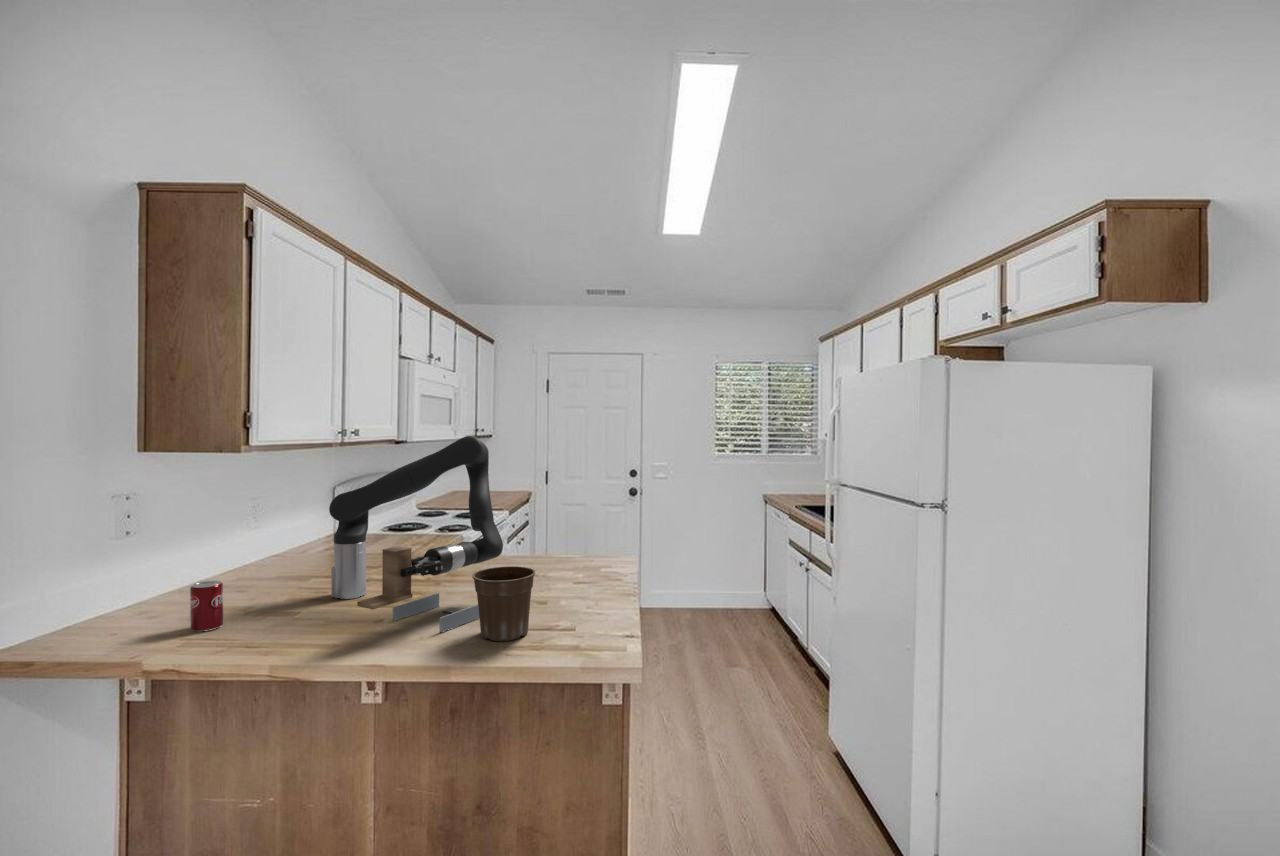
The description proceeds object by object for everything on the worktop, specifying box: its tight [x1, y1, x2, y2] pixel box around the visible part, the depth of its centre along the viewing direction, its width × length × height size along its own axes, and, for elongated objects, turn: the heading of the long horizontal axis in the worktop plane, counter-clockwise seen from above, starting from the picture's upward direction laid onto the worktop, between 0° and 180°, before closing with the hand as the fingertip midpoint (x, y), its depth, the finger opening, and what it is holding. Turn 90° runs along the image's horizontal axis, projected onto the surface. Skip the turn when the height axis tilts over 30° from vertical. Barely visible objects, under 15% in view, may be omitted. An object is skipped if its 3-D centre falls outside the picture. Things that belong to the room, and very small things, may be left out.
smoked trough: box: [392, 592, 479, 633], centre depth 174 cm, size 16×19×4 cm
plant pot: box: [471, 565, 536, 642], centre depth 162 cm, size 16×16×16 cm
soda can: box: [189, 580, 224, 632], centre depth 166 cm, size 7×7×12 cm
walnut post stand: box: [356, 545, 413, 610], centre depth 158 cm, size 12×6×13 cm, turn 151°
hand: (394, 571), depth 161 cm, fingers closed on walnut post stand, 5 cm apart
